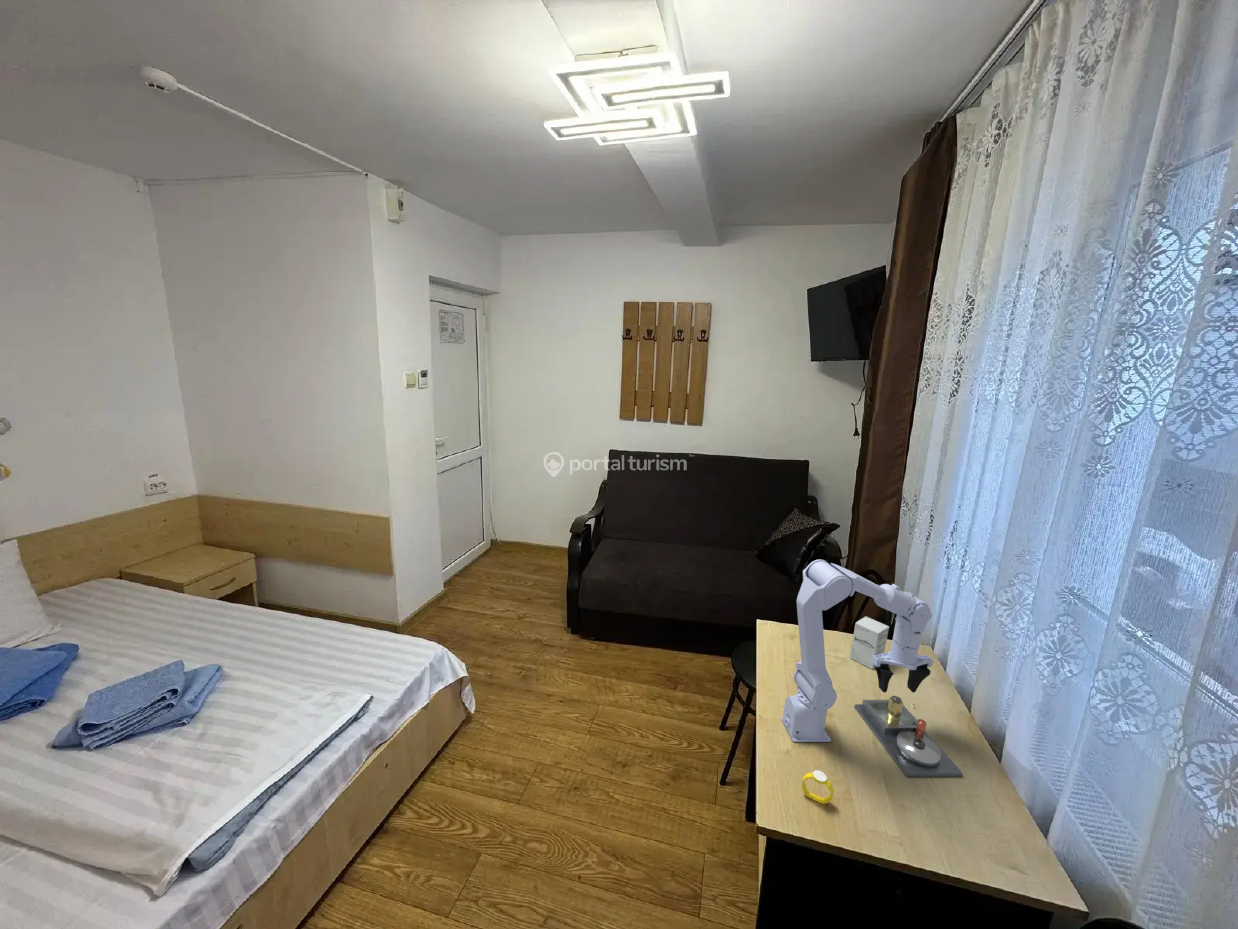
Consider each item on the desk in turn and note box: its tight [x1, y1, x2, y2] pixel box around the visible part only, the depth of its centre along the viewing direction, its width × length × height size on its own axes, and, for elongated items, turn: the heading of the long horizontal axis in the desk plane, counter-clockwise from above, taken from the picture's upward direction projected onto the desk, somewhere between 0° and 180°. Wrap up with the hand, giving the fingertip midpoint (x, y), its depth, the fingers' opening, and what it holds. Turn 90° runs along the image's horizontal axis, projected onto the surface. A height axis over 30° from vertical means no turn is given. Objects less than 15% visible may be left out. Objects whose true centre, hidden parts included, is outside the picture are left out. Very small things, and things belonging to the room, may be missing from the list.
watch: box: [801, 769, 834, 805], centre depth 100 cm, size 6×3×6 cm, turn 60°
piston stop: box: [886, 695, 904, 725], centre depth 122 cm, size 3×3×7 cm
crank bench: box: [854, 699, 963, 778], centre depth 118 cm, size 13×22×4 cm, turn 3°
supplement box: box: [849, 616, 890, 670], centre depth 148 cm, size 7×7×13 cm
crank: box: [896, 718, 941, 767], centre depth 112 cm, size 9×9×6 cm
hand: (896, 689), depth 121 cm, fingers open, 7 cm apart
